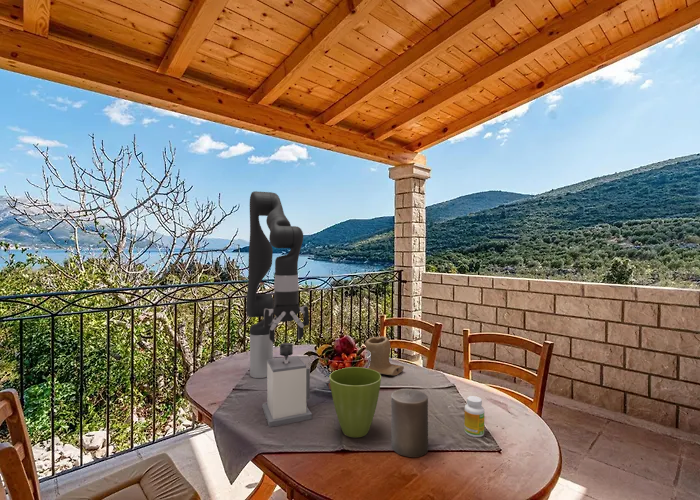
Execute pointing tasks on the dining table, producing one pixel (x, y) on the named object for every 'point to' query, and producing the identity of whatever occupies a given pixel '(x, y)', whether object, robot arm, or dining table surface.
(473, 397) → the supplement bottle
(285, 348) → the plunger
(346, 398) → the flower pot
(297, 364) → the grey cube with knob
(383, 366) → the tan boot
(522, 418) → the dining table surface
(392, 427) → the pillar candle
